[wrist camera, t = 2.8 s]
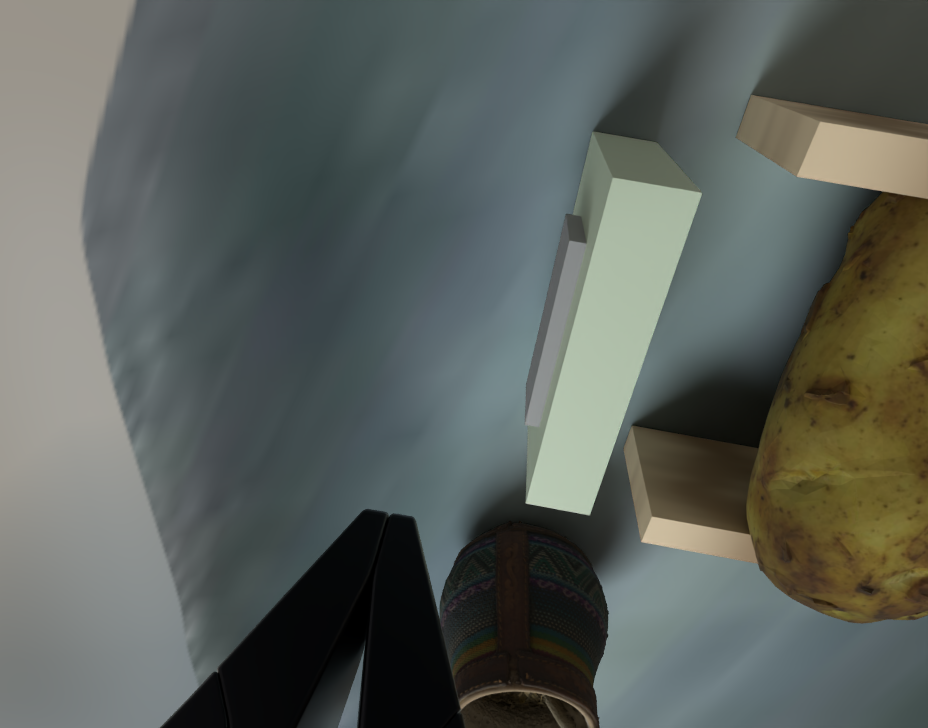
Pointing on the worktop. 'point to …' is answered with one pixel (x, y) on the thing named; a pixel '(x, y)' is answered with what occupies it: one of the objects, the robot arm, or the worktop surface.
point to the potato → (854, 433)
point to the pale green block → (601, 313)
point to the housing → (730, 465)
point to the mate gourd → (524, 630)
